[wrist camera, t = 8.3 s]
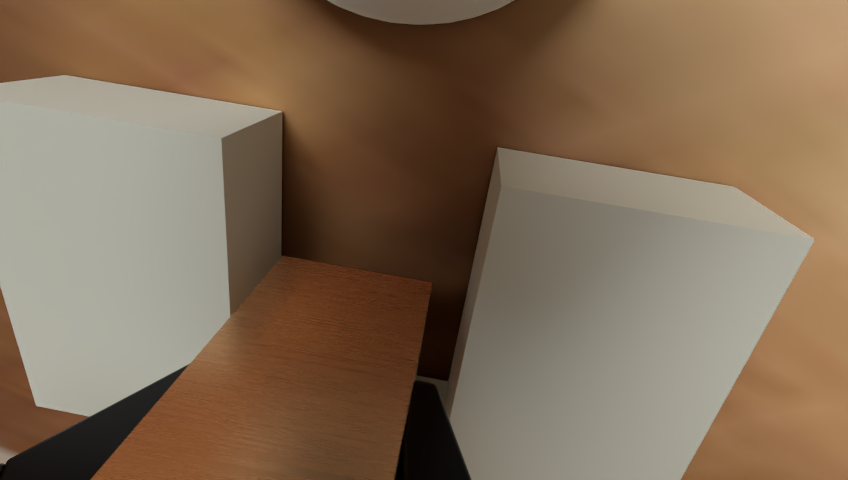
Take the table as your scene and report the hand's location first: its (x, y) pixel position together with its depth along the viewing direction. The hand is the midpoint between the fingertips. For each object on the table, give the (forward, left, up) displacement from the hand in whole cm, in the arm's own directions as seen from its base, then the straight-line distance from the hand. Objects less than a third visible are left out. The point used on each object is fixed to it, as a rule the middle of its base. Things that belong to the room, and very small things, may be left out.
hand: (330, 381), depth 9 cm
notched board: (0, 0, -3) cm, 3 cm away
